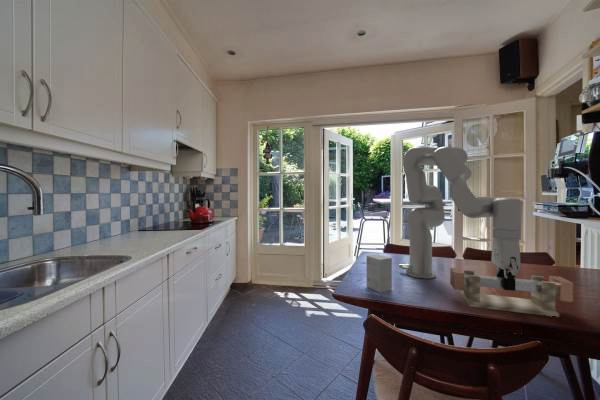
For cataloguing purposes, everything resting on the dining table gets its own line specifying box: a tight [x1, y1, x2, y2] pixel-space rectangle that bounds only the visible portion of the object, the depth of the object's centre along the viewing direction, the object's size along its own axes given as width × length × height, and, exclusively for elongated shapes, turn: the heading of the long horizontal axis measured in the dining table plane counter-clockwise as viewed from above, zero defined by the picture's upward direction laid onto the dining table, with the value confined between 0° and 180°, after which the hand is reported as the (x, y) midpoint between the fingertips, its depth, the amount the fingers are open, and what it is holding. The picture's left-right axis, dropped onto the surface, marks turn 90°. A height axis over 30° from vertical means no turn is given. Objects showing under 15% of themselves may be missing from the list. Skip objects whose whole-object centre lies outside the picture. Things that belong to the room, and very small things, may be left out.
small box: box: [366, 253, 393, 294], centre depth 101 cm, size 8×6×13 cm
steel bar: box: [449, 267, 574, 303], centre depth 85 cm, size 32×6×6 cm, turn 71°
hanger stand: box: [461, 269, 560, 318], centre depth 85 cm, size 24×10×10 cm, turn 71°
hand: (505, 286), depth 85 cm, fingers open, 4 cm apart
